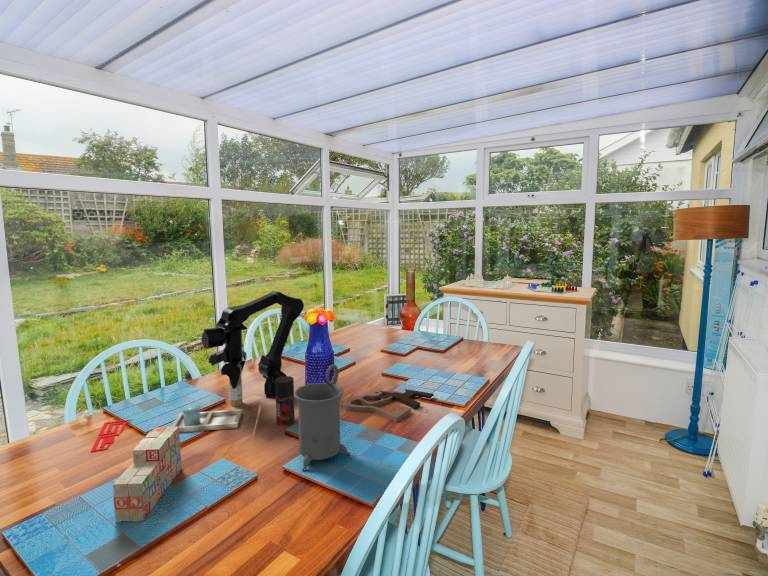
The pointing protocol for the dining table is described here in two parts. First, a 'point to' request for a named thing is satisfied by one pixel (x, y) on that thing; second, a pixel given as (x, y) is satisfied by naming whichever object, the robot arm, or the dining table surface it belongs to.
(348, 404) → the wood carving
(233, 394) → the sprinkles bottle
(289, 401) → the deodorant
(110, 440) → the maze puzzle
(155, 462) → the stack of blocks
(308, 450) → the grey footed bucket
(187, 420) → the pot
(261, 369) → the robot arm
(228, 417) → the caddy
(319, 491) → the dining table surface
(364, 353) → the dining table surface
